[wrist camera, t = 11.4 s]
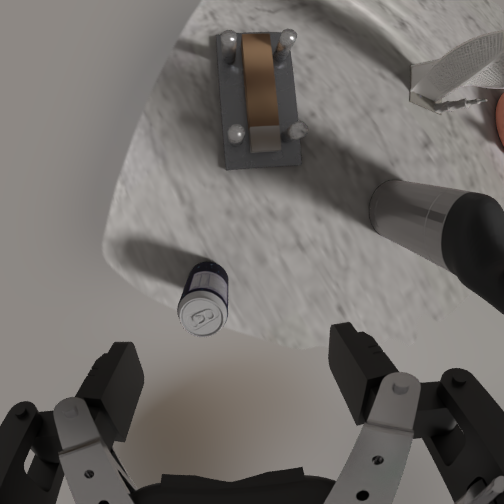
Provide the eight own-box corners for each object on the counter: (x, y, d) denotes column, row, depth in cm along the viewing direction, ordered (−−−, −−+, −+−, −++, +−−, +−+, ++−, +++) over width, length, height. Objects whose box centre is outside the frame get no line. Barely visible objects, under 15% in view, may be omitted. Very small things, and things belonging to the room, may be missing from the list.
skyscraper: (401, 99, 36) (543, 64, 10) (402, 57, 34) (525, 2, 7) (439, 115, 37) (574, 104, 10) (439, 75, 35) (561, 45, 8)
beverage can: (182, 269, 41) (166, 306, 30) (217, 253, 41) (212, 286, 29) (200, 301, 43) (191, 346, 31) (234, 286, 43) (236, 329, 31)
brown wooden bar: (240, 44, 32) (241, 34, 28) (266, 43, 32) (269, 33, 29) (250, 153, 36) (252, 151, 33) (276, 151, 36) (281, 149, 33)
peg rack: (286, 35, 33) (298, 10, 25) (299, 165, 38) (316, 164, 30) (216, 38, 32) (213, 11, 24) (226, 170, 38) (224, 170, 30)
